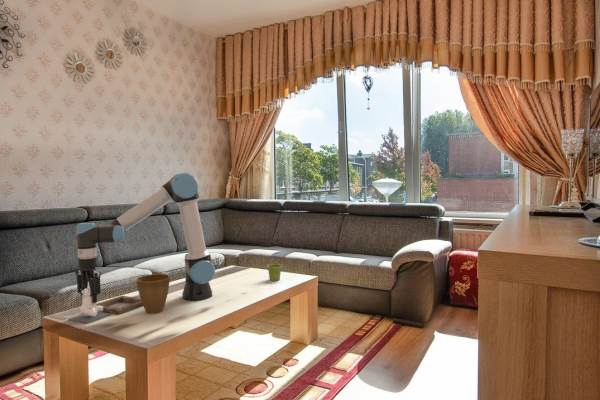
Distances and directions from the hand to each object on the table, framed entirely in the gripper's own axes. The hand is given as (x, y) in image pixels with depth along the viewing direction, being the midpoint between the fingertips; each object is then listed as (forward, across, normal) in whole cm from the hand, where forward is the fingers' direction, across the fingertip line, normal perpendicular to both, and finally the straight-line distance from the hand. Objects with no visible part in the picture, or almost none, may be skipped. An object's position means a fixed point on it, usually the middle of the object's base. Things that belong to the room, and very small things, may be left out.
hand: (89, 309), depth 189 cm
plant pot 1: (+4, +21, +18) cm, 28 cm away
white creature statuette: (+2, +1, 0) cm, 2 cm away
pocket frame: (+4, 0, +18) cm, 18 cm away
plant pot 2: (+4, +45, +92) cm, 103 cm away
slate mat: (+4, 0, 0) cm, 4 cm away
